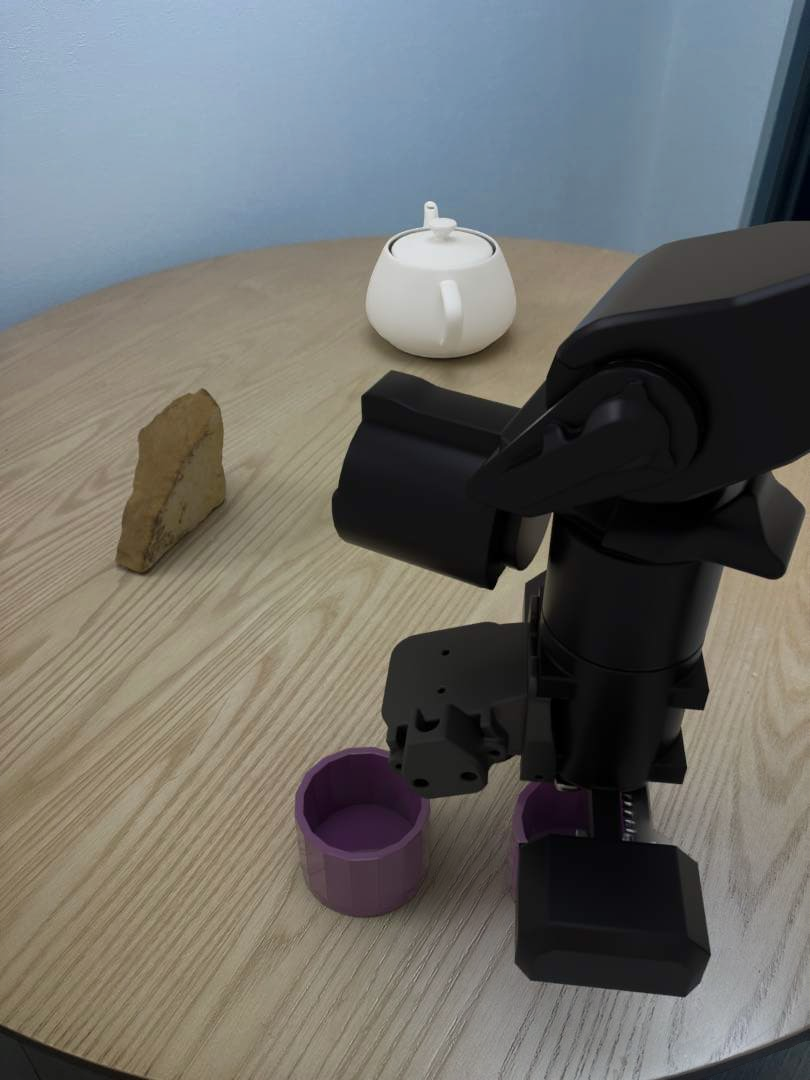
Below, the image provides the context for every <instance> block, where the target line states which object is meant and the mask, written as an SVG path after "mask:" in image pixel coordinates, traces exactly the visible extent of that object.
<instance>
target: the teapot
mask: <svg viewBox="0 0 810 1080" xmlns="http://www.w3.org/2000/svg"><path fill="white" fill-rule="evenodd" d="M423 212H424V213H423V215H424V218H423V226H422V227H416V228H411V229H407V230H404V231H402V232H399V233H397V234H395V235H394V236H392V237H390V239H388V240H387V242H386V243H385V245H384V247H383V249H382V250H381V252H380V254H379V257H378V259H377V261H376V263H375V266H374V268H373V271H372V273H371V276H370V279H369V281H368V282H369V283H368V287H367V291H366V296H365V297H366V298H365V311H366V315H367V318H368V321H369V323H370V325H371V326H372V327H373V328H374V330H375V331H376V332H377V334H379V335H380V336H381V337H382V338H384V339H385V340H386V341H387V342H389V344H391V345H392V346H394V347H395V348H396V349H398V350H400V351H402V352H403V353H406V354H410V355H413V356H417V357H418V356H419V357H422V358H432V359H450V358H460V357H464V356H469V355H472V354H476V353H478V352H480V351H482V350H484V349H486V348H487V347H488V346H490V345H491V344H492V343H494V342H495V341H497V340H498V339H499V338H500V337H502V336H503V335H504V334H505V333H506V332H507V331H508V330H509V328H510V327H511V326H512V324H513V322H514V319H515V316H516V313H517V296H516V289H515V286H514V281H513V278H512V274H511V271H510V269H509V265H508V264H507V262H506V261H507V260H506V259H505V256H504V253H503V251H502V249H501V247H500V245H499V244H498V242H497V240H495V239H494V238H492V236H491V235H487V234H486V233H484V232H481V231H478V230H475V229H471V228H468V227H460V226H458V223H457V221H456V220H455V219H453V218H449V217H440V216H439V209H438V205H437V204H436V203H435V202H434V201H429V200H428V201H426V202H425V203H424V205H423Z"/></svg>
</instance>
